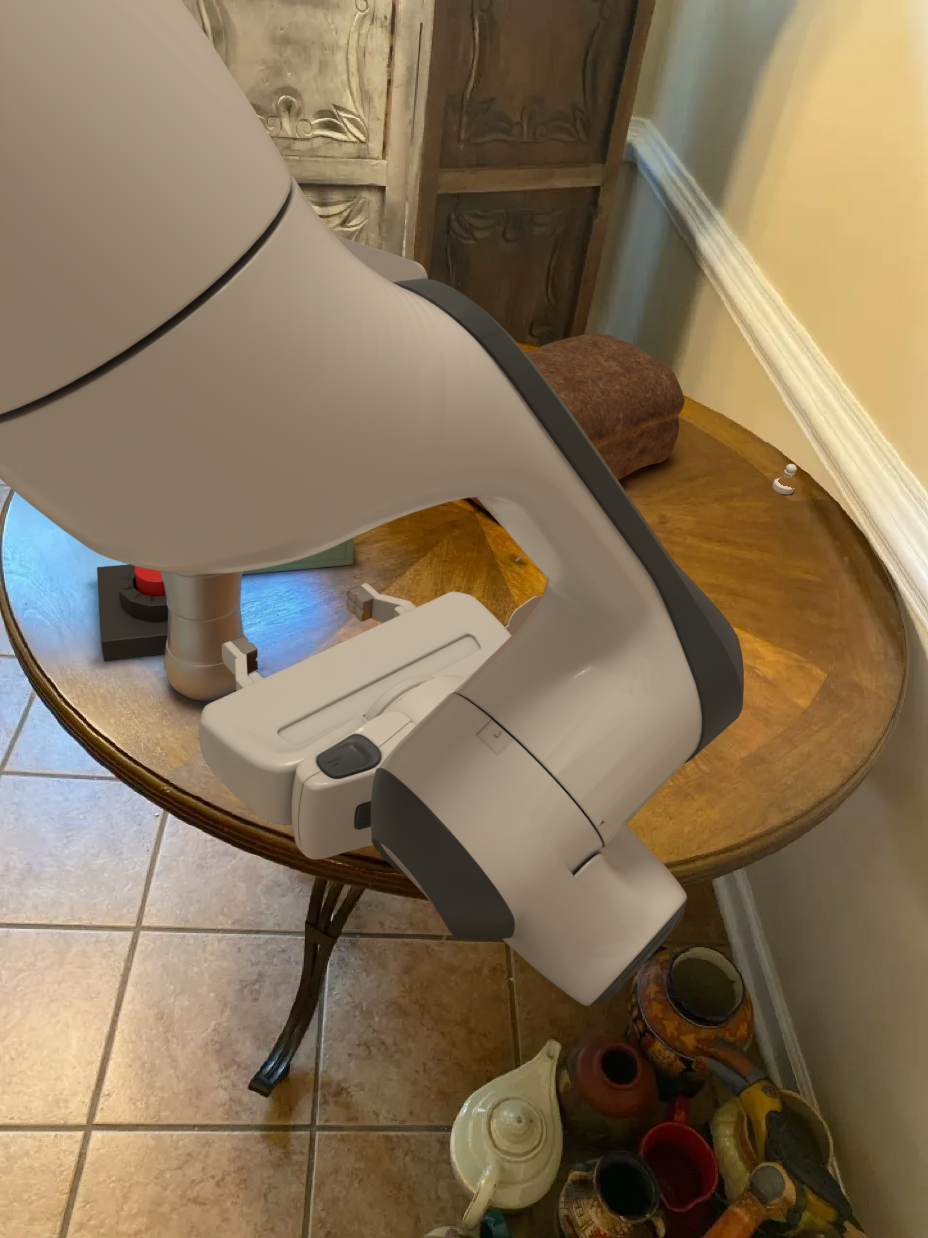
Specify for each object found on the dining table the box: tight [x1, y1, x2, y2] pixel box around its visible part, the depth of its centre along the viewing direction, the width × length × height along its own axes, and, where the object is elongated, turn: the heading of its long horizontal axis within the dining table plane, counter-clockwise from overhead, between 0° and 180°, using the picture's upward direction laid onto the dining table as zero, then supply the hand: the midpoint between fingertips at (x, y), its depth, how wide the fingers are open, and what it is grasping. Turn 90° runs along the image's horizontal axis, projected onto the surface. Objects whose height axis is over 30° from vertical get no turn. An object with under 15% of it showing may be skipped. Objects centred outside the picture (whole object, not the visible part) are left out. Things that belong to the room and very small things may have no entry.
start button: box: [135, 566, 166, 597], centre depth 78 cm, size 4×4×2 cm
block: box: [96, 564, 168, 662], centre depth 80 cm, size 10×10×4 cm
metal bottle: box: [161, 571, 246, 701], centre depth 69 cm, size 6×7×20 cm
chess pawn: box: [771, 463, 798, 495], centre depth 112 cm, size 3×3×4 cm
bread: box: [469, 332, 686, 514], centre depth 106 cm, size 17×30×13 cm, turn 131°
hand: (296, 619), depth 59 cm, fingers open, 8 cm apart
